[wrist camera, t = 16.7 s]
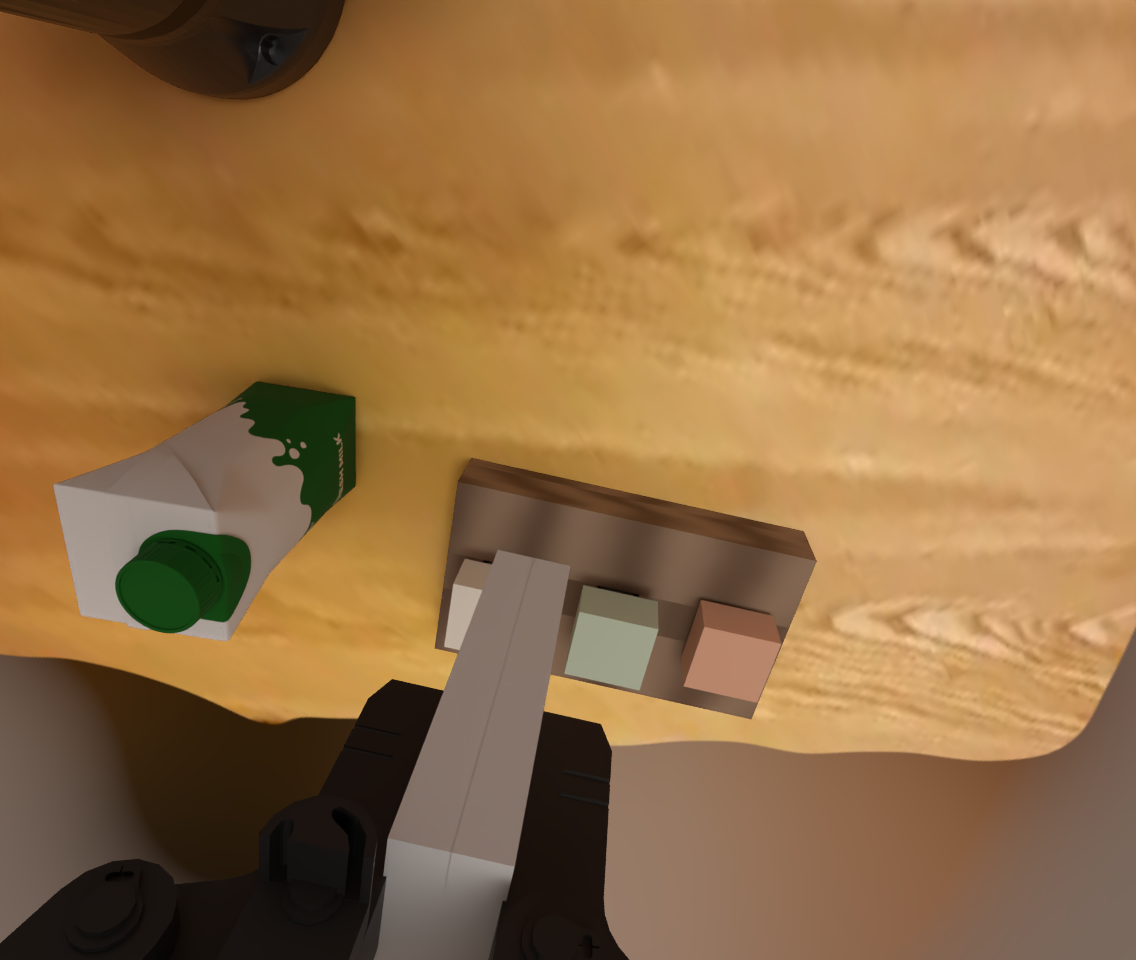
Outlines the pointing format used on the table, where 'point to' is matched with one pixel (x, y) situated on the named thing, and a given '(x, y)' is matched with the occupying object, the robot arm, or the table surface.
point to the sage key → (612, 637)
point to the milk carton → (207, 511)
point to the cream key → (465, 600)
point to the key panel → (630, 561)
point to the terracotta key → (730, 651)
